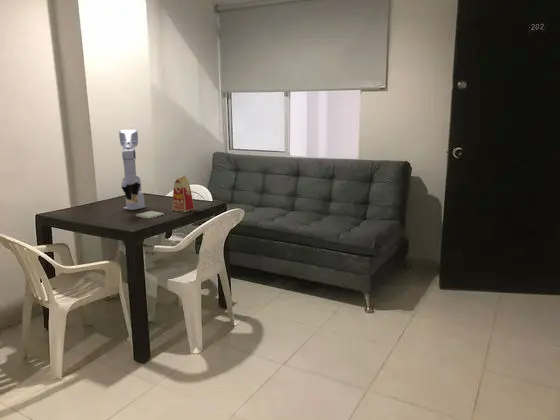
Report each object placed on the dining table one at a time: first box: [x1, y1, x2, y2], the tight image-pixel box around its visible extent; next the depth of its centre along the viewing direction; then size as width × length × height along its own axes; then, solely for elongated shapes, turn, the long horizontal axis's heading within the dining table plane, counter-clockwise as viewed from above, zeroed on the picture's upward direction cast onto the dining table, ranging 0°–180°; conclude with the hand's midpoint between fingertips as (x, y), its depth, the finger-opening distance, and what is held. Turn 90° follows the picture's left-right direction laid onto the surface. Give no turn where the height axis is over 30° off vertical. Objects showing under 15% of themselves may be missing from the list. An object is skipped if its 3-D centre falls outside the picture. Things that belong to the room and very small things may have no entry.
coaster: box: [135, 210, 165, 220], centre depth 245 cm, size 10×10×1 cm
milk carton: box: [172, 173, 195, 213], centre depth 256 cm, size 9×9×20 cm
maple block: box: [125, 194, 138, 204], centre depth 245 cm, size 4×4×4 cm
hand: (132, 198), depth 245 cm, fingers closed on maple block, 5 cm apart
